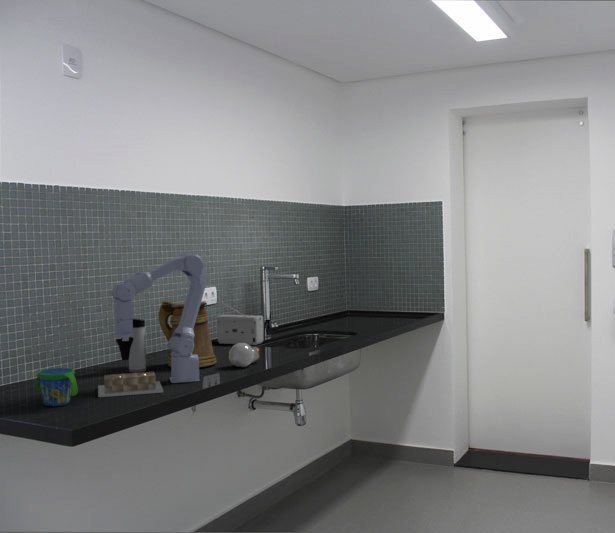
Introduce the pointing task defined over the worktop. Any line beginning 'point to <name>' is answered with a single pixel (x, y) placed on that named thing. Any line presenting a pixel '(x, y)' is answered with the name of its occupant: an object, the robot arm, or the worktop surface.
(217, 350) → the worktop surface
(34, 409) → the worktop surface
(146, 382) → the housing
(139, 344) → the travel mug
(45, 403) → the snack cup
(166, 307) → the tankard
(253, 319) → the stereo radio cassette player
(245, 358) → the potion bottle
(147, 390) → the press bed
